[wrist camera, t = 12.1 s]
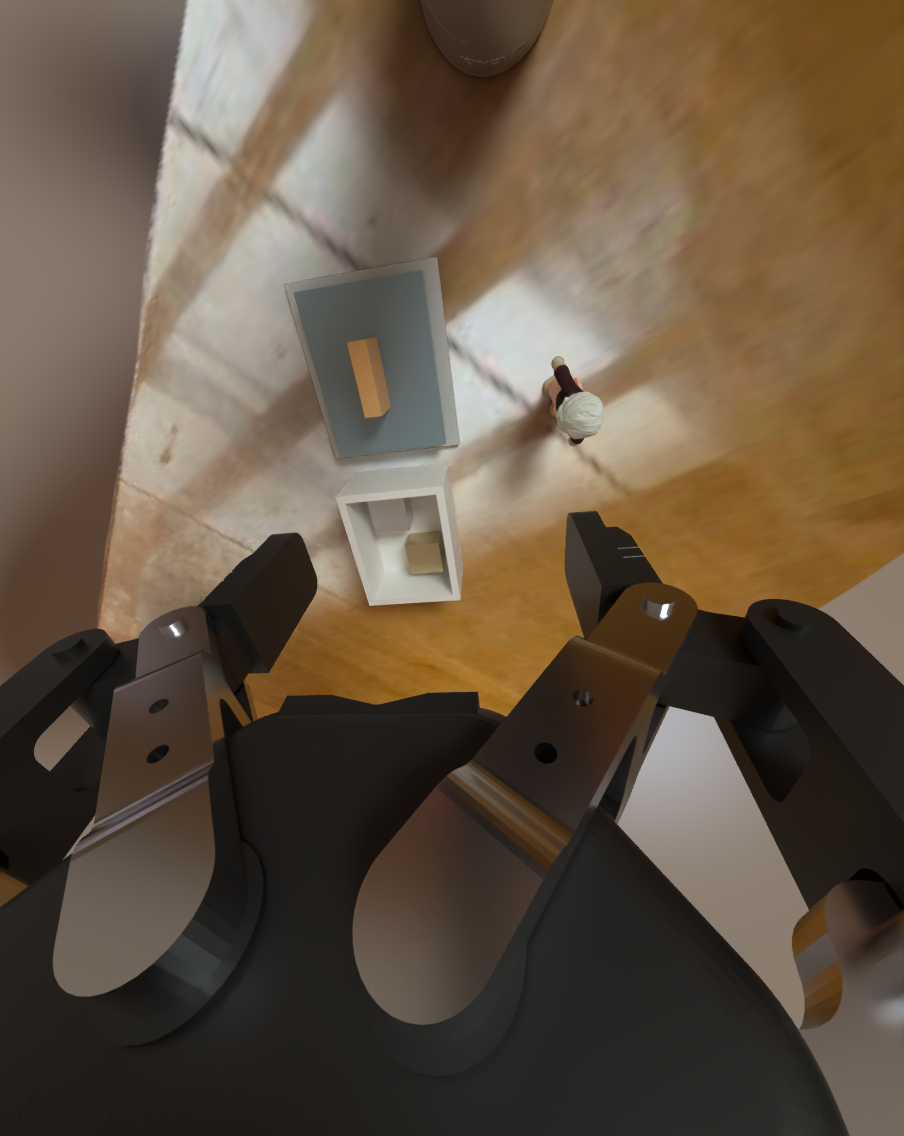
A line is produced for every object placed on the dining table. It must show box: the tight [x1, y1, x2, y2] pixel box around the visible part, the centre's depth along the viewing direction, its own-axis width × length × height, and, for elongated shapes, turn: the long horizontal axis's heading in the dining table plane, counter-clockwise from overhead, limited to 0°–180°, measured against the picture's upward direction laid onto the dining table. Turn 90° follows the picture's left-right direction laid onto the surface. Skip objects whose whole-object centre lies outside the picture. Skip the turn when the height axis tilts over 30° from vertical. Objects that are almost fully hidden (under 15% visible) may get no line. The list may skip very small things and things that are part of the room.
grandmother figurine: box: [543, 356, 603, 446], centre depth 33 cm, size 8×4×13 cm, turn 33°
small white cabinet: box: [335, 463, 463, 606], centre depth 45 cm, size 14×11×7 cm
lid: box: [293, 270, 446, 456], centre depth 36 cm, size 14×11×6 cm
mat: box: [284, 257, 460, 459], centre depth 39 cm, size 16×14×1 cm
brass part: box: [405, 531, 445, 574], centre depth 47 cm, size 4×4×3 cm
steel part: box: [367, 497, 414, 533], centre depth 45 cm, size 4×4×3 cm
